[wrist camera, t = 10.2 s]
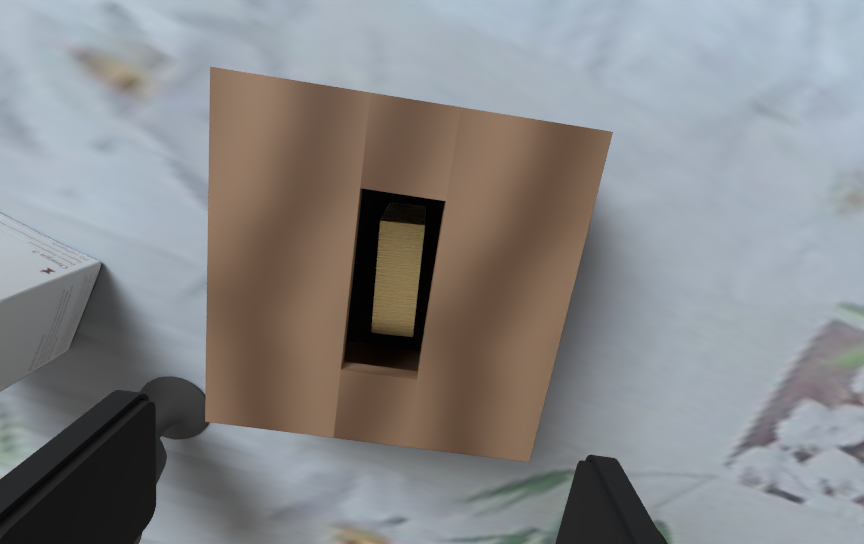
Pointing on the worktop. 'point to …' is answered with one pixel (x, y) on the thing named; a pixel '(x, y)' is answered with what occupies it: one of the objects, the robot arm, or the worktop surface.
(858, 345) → the worktop surface
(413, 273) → the tan rectangular block
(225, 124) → the brown slotted wooden box
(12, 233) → the supplement box
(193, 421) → the sundae
